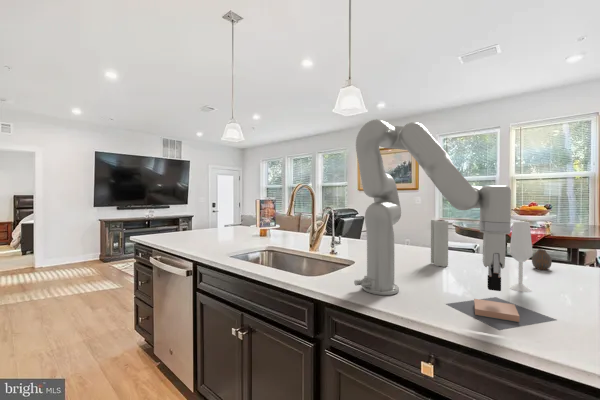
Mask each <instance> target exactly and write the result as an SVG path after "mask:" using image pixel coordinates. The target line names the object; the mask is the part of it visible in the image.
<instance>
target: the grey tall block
mask: <svg viewBox="0 0 600 400" xmlns="http://www.w3.org/2000/svg"><path fill="white" fill-rule="evenodd" d="M430 264H434V266H436V267H448V266H449V220H444V219H431V220H430Z"/></svg>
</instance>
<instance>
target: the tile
mask: <svg viewBox="0 0 600 400" xmlns="http://www.w3.org/2000/svg"><path fill="white" fill-rule="evenodd" d="M480 299H481V298H480ZM480 299H477V298H473V300H474V308H475V315H478V316H484V317H490V318H496V319H501V320H507V321H513V322H519V314H518V311H517V309H516V307H515V305H514V304H515V303H513V304H507V303H501V302H494V301H487V300H480Z"/></svg>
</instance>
